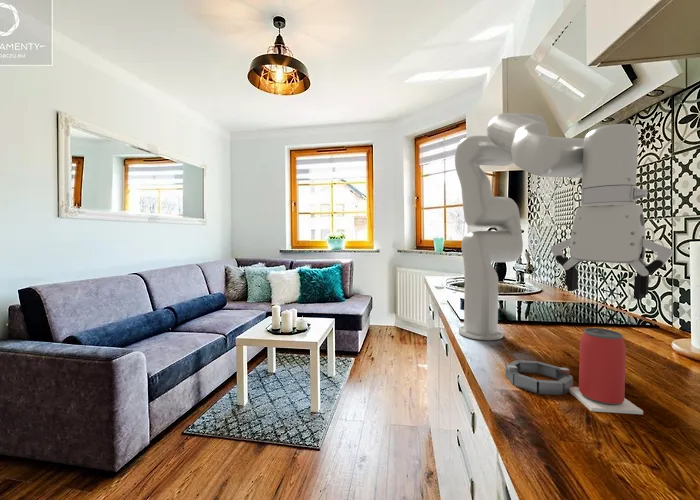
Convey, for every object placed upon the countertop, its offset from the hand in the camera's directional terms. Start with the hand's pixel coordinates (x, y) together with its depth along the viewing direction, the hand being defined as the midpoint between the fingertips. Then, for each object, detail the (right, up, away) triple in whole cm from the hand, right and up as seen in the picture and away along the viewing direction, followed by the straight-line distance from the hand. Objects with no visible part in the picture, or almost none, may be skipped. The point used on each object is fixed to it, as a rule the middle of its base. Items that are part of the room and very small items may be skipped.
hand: (603, 294), depth 58 cm
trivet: (0, -20, +1) cm, 20 cm away
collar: (-7, -19, +9) cm, 22 cm away
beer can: (0, -19, +1) cm, 19 cm away
